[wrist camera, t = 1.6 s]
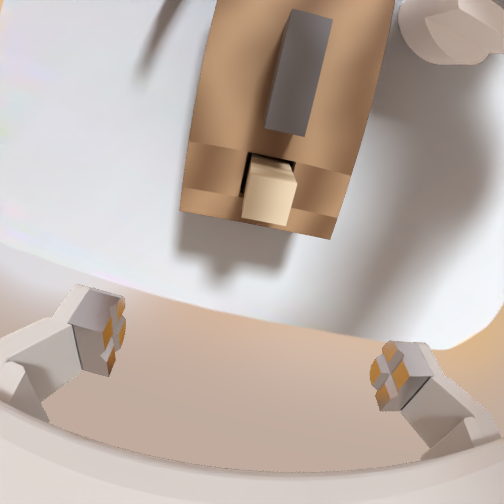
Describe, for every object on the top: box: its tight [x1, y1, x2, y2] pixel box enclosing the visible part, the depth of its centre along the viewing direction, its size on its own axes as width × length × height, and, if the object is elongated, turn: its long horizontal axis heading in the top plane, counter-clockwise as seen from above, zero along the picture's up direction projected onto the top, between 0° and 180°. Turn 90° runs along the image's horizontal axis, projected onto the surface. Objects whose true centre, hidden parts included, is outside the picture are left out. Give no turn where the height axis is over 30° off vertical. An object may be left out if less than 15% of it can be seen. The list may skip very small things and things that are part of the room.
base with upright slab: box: [398, 0, 504, 65], centre depth 18 cm, size 9×9×12 cm
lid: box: [179, 0, 395, 240], centre depth 19 cm, size 13×25×6 cm, turn 168°
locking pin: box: [241, 152, 297, 226], centre depth 24 cm, size 3×3×10 cm
